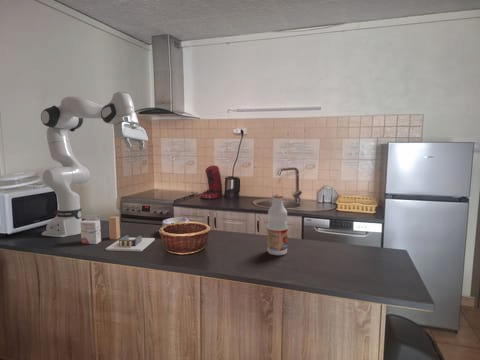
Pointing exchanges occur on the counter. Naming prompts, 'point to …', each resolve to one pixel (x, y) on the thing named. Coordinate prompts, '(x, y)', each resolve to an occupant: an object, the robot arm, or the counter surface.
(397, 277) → the counter surface
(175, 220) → the paper bowls
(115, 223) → the tall tan rectangular block
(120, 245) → the cartridge dock
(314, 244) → the counter surface
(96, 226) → the ink cartridge box
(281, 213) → the fruit juice
